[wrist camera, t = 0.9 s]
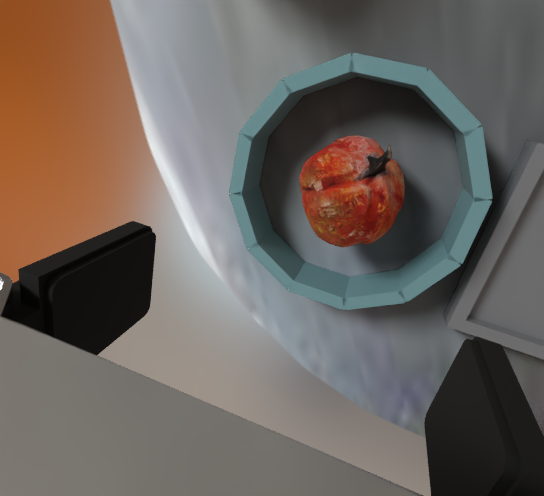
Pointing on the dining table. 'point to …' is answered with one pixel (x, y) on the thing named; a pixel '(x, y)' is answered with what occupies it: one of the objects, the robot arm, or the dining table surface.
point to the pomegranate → (352, 191)
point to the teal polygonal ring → (377, 285)
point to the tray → (508, 266)
